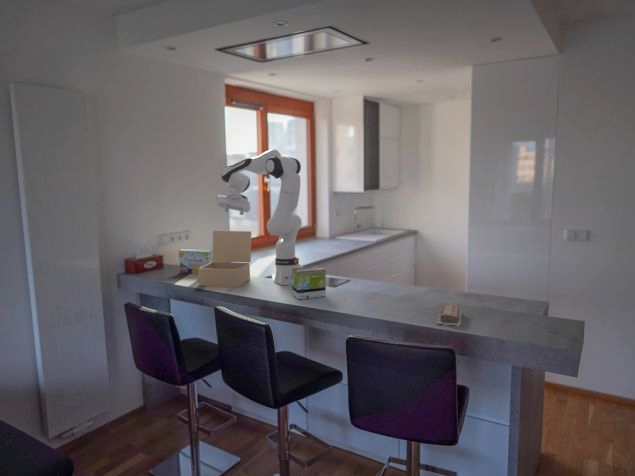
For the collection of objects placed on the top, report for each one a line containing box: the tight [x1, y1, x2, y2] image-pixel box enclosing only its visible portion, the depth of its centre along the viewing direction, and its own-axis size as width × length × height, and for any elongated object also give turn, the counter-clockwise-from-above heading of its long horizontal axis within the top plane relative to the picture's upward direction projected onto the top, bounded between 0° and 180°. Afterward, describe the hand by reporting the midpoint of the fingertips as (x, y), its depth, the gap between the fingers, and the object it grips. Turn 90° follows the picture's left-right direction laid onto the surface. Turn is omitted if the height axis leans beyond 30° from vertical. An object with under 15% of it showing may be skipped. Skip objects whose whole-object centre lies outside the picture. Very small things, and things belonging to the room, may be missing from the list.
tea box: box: [291, 265, 327, 300], centre depth 240 cm, size 15×10×15 cm, turn 112°
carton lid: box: [212, 230, 252, 263], centre depth 282 cm, size 24×19×1 cm
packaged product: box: [435, 303, 463, 325], centre depth 202 cm, size 18×5×10 cm
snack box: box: [178, 248, 213, 275], centre depth 299 cm, size 21×6×15 cm, turn 73°
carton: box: [197, 261, 251, 288], centre depth 273 cm, size 24×18×10 cm
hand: (234, 212), depth 279 cm, fingers open, 8 cm apart
